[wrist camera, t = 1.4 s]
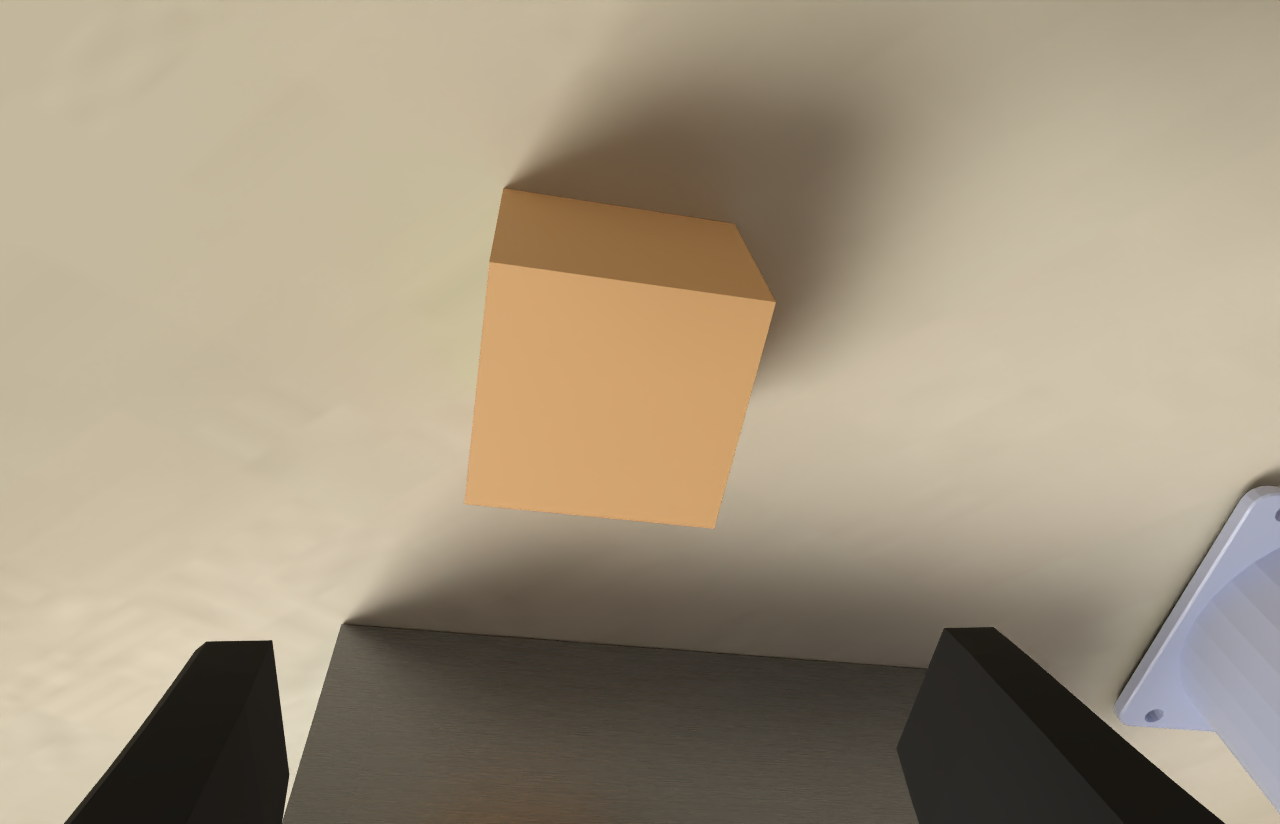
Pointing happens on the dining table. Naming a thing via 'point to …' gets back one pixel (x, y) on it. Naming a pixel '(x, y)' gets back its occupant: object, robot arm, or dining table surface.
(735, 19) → the dining table surface
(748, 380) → the block
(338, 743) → the grey box with hole
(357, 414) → the dining table surface
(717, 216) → the dining table surface
